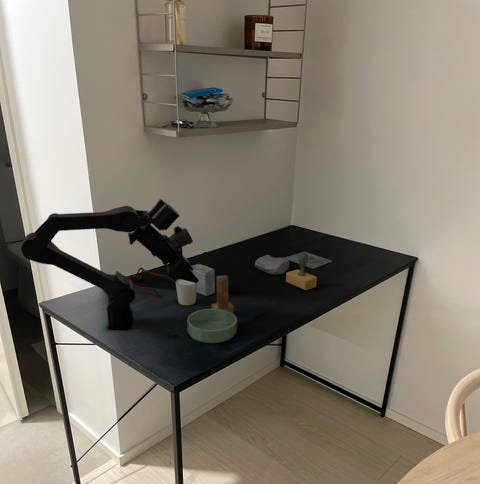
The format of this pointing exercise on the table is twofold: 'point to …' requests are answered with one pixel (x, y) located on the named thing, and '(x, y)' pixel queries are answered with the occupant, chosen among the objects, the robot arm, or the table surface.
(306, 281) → the rubber stamp
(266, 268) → the stone block
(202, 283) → the medicine box
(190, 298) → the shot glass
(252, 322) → the table surface
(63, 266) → the robot arm
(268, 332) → the table surface
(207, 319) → the bowl
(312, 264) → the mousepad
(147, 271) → the glasses
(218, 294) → the brown stepped block
